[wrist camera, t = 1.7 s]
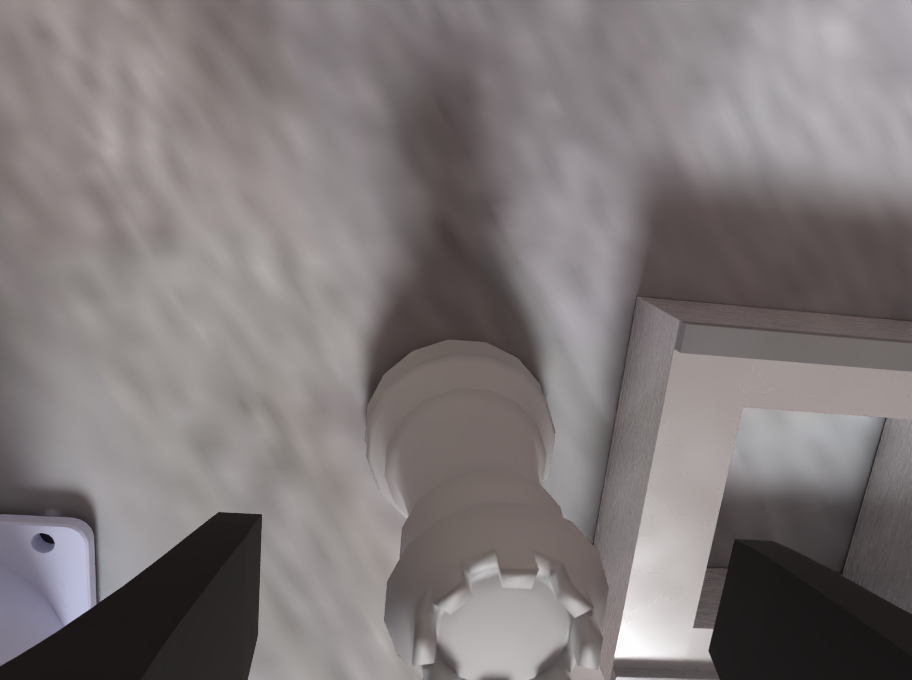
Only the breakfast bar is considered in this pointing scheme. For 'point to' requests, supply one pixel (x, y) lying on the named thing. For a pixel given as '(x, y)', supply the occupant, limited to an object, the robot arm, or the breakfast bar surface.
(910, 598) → the block
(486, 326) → the breakfast bar surface
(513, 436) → the rook chess piece
